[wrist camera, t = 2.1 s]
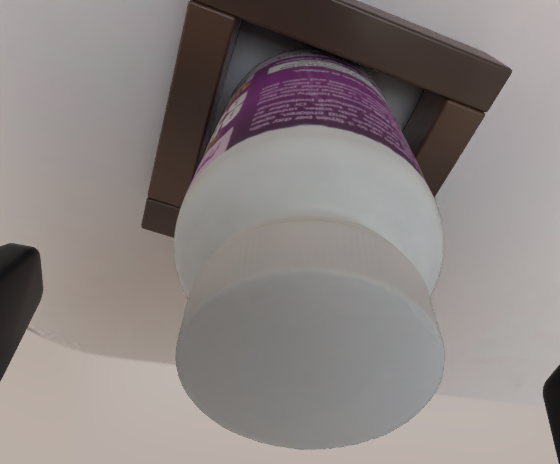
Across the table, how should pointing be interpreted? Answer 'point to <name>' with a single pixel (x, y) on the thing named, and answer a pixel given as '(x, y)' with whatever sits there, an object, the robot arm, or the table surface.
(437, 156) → the holder
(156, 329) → the table surface
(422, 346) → the pill bottle
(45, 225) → the table surface
